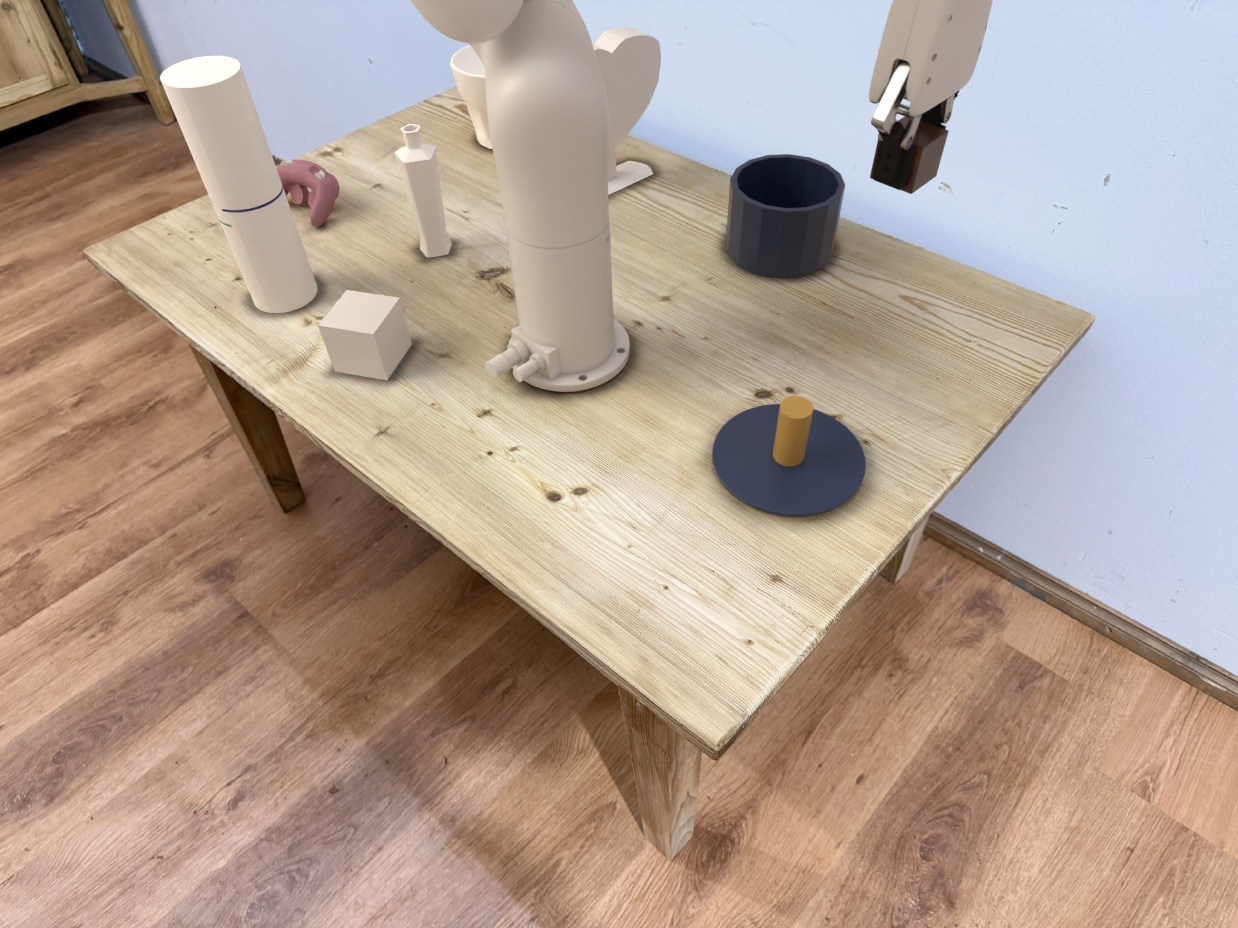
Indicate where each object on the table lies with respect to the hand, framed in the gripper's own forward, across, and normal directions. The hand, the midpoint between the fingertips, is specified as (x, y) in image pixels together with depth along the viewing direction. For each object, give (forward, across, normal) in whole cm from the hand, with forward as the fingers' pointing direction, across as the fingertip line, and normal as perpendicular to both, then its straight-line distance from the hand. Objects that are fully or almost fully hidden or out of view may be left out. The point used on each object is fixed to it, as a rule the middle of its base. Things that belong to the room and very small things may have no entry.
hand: (903, 171), depth 78 cm
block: (+1, 0, 0) cm, 1 cm away
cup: (+18, -2, -61) cm, 64 cm away
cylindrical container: (+18, +40, -52) cm, 67 cm away
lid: (+17, +23, +6) cm, 29 cm away
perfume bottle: (+18, +23, -46) cm, 54 cm away
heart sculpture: (+17, -2, -41) cm, 45 cm away
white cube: (+18, +40, -34) cm, 55 cm away
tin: (+17, -5, -15) cm, 24 cm away
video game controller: (+18, +28, -66) cm, 74 cm away
